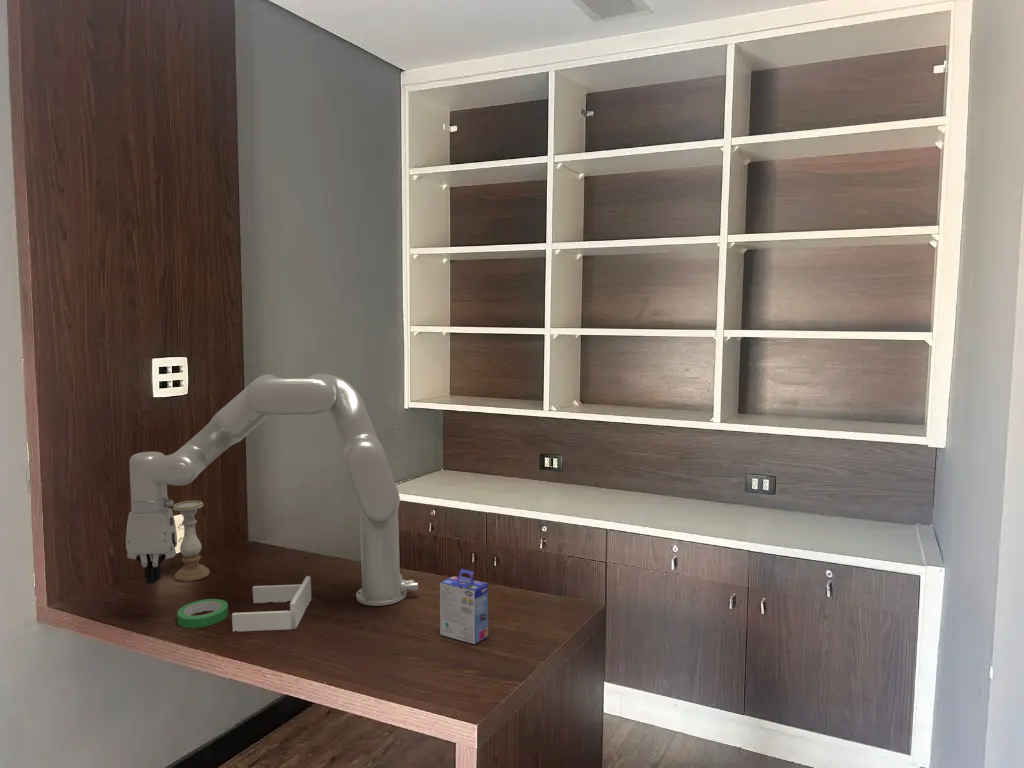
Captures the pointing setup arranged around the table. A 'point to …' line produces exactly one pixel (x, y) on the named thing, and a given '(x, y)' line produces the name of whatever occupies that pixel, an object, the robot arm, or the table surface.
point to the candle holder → (190, 543)
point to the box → (275, 619)
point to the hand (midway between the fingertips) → (153, 581)
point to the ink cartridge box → (464, 608)
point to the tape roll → (199, 606)
